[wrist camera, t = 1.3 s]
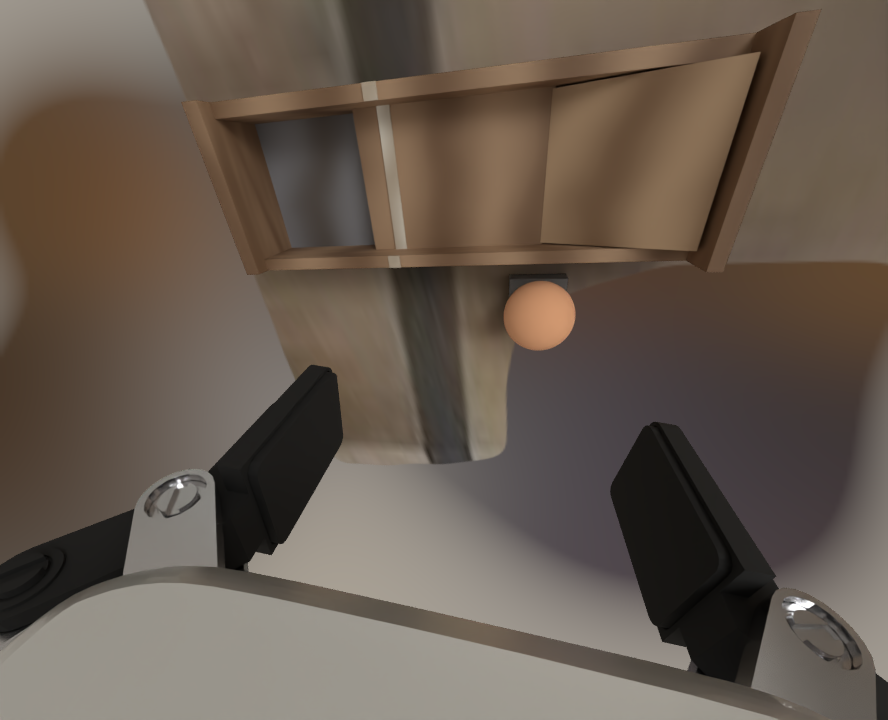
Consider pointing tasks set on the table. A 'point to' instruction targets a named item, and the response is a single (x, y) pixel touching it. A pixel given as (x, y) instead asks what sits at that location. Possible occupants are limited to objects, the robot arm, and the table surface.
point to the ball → (539, 315)
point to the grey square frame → (527, 278)
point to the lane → (508, 159)
